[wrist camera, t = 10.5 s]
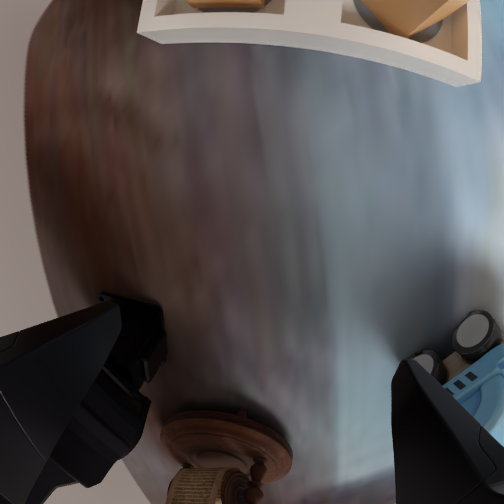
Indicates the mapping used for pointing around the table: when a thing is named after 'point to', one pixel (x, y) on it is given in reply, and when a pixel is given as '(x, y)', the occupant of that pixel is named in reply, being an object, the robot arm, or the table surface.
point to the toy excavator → (474, 370)
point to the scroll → (222, 457)
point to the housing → (328, 33)
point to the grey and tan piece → (226, 3)
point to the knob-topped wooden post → (411, 14)
